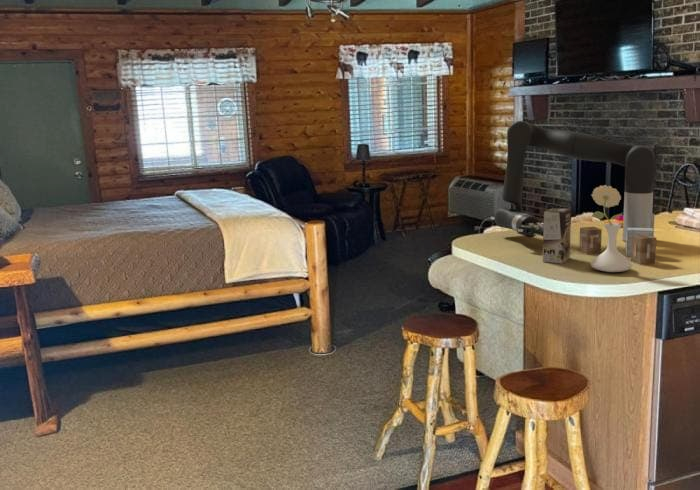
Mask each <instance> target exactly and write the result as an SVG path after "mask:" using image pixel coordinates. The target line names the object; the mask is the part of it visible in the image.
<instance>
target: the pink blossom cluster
mask: <svg viewBox="0 0 700 490" xmlns="http://www.w3.org/2000/svg"><path fill="white" fill-rule="evenodd" d="M623 218H624V214H621V215H620V216H619V217H617V218H615V219H612V220H610V219H609V220H610V222H611V223H620V224H622V226H621V227H620V228H623ZM605 223H609V221H608V219H605V220H604V221H603V225H604V224H605Z"/></svg>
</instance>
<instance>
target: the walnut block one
mask: <svg viewBox="0 0 700 490" xmlns="http://www.w3.org/2000/svg"><path fill="white" fill-rule="evenodd" d="M656 250H657V237H656V236H654V237H652V236H649V235H636V236H632V245H631V256H630V262H631V263H634V264H637V265H639V266H640V265H641V266H642V265H653V264H654V265H655V264H656V253H657V251H656Z"/></svg>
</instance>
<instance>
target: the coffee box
mask: <svg viewBox="0 0 700 490" xmlns="http://www.w3.org/2000/svg"><path fill="white" fill-rule="evenodd" d="M543 224H544V230H543V236H542V239H543V240H542V241H543V243H542V262H544V263H551V264H552V263H553V264H554V263H555V264H563V263H565V262H566V261H568V260H569V259H570V258H571V231H572V230H571V227H572V208H567V207H566V208H564V207H563V208H561V207H560V208H556V207H555V208H554V207H552V208H549V209H547V210H544V211H543Z"/></svg>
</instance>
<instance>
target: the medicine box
mask: <svg viewBox="0 0 700 490" xmlns="http://www.w3.org/2000/svg"><path fill="white" fill-rule="evenodd" d="M636 235H649V236H652V237H655V229H654V230H653V229H652V228H627V230H626V241H625V257H631V245H632V236H636Z"/></svg>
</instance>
